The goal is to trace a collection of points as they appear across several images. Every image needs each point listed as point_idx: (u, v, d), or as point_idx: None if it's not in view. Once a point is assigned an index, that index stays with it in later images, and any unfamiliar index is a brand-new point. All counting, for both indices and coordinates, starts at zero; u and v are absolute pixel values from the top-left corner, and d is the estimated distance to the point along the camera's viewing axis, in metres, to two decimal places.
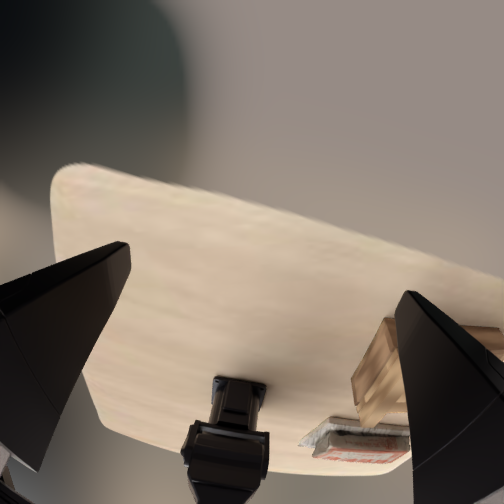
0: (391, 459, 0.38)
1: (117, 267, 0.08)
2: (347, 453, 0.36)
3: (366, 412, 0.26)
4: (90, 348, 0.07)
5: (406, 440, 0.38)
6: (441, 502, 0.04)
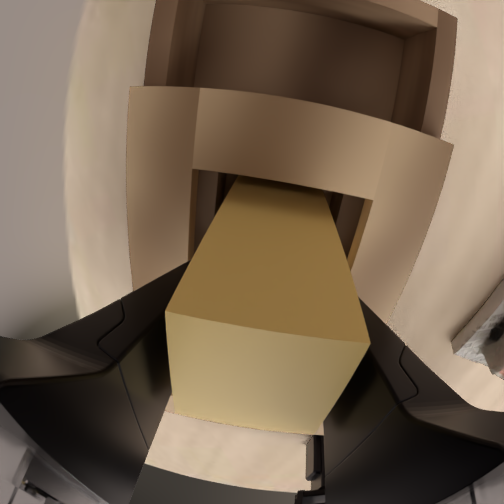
0: None
1: None
2: None
3: None
4: None
5: None
6: None
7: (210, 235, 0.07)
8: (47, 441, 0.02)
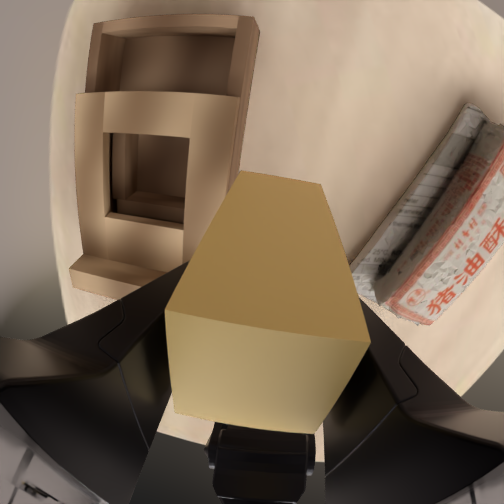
0: None
1: None
2: (427, 278, 0.18)
3: None
4: None
5: (488, 129, 0.15)
6: None
7: (210, 234, 0.07)
8: (47, 441, 0.02)
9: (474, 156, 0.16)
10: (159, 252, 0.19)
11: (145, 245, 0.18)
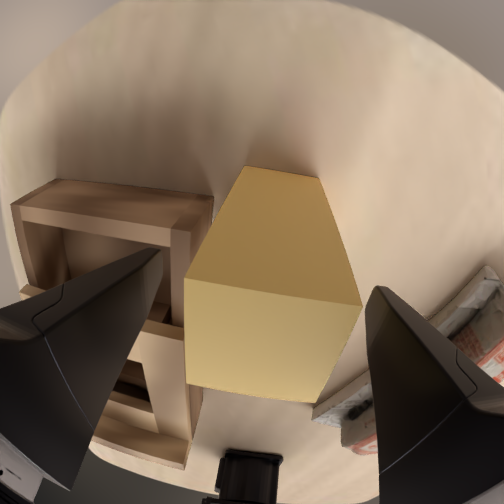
0: None
1: (151, 274, 0.08)
2: None
3: None
4: (124, 359, 0.07)
5: (498, 304, 0.14)
6: None
7: (220, 219, 0.08)
8: None
9: (473, 333, 0.15)
10: (136, 419, 0.18)
11: (123, 413, 0.17)
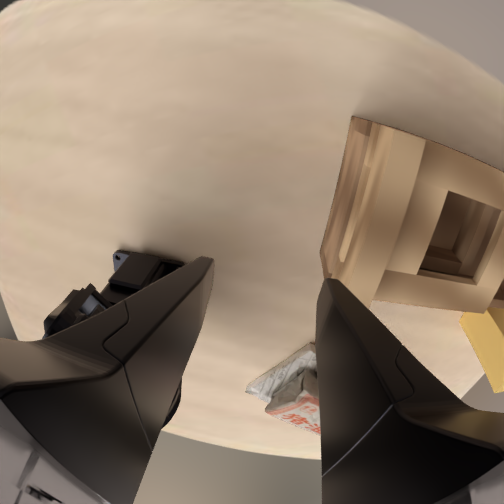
0: None
1: (207, 285, 0.08)
2: None
3: (344, 279, 0.16)
4: (181, 374, 0.07)
5: None
6: None
7: None
8: (53, 444, 0.02)
9: None
10: (399, 247, 0.16)
11: (409, 233, 0.15)
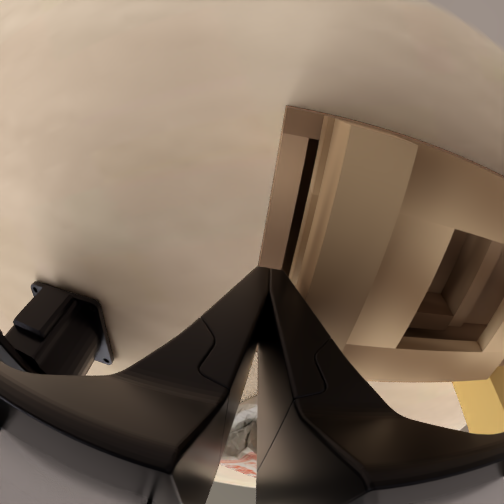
0: None
1: None
2: None
3: None
4: (244, 386, 0.07)
5: None
6: None
7: None
8: (185, 493, 0.02)
9: None
10: (369, 315, 0.10)
11: (387, 296, 0.10)
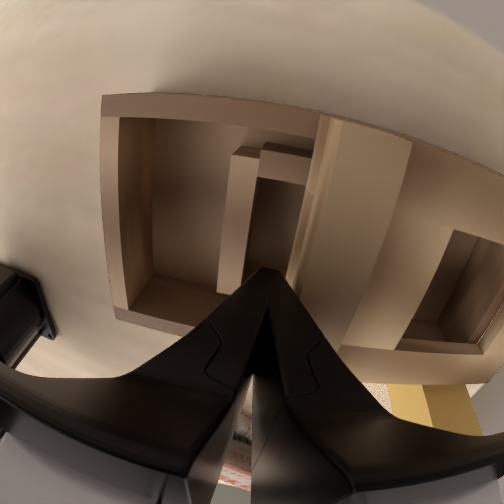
0: None
1: None
2: None
3: None
4: (248, 387, 0.07)
5: None
6: None
7: None
8: (195, 495, 0.02)
9: None
10: (367, 316, 0.10)
11: (385, 297, 0.10)
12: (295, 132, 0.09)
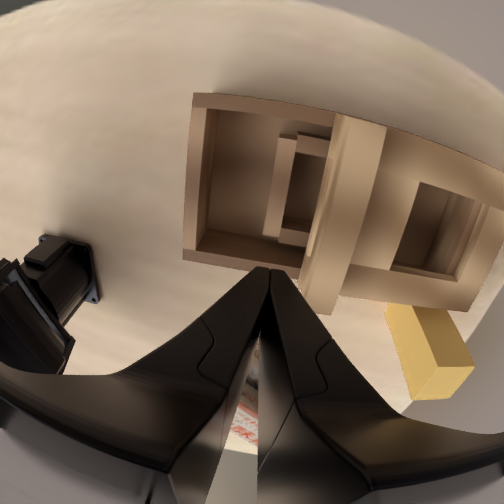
0: None
1: None
2: None
3: (309, 274, 0.16)
4: (243, 386, 0.07)
5: None
6: None
7: None
8: (184, 493, 0.02)
9: None
10: (368, 241, 0.16)
11: (379, 227, 0.15)
12: (322, 123, 0.14)
